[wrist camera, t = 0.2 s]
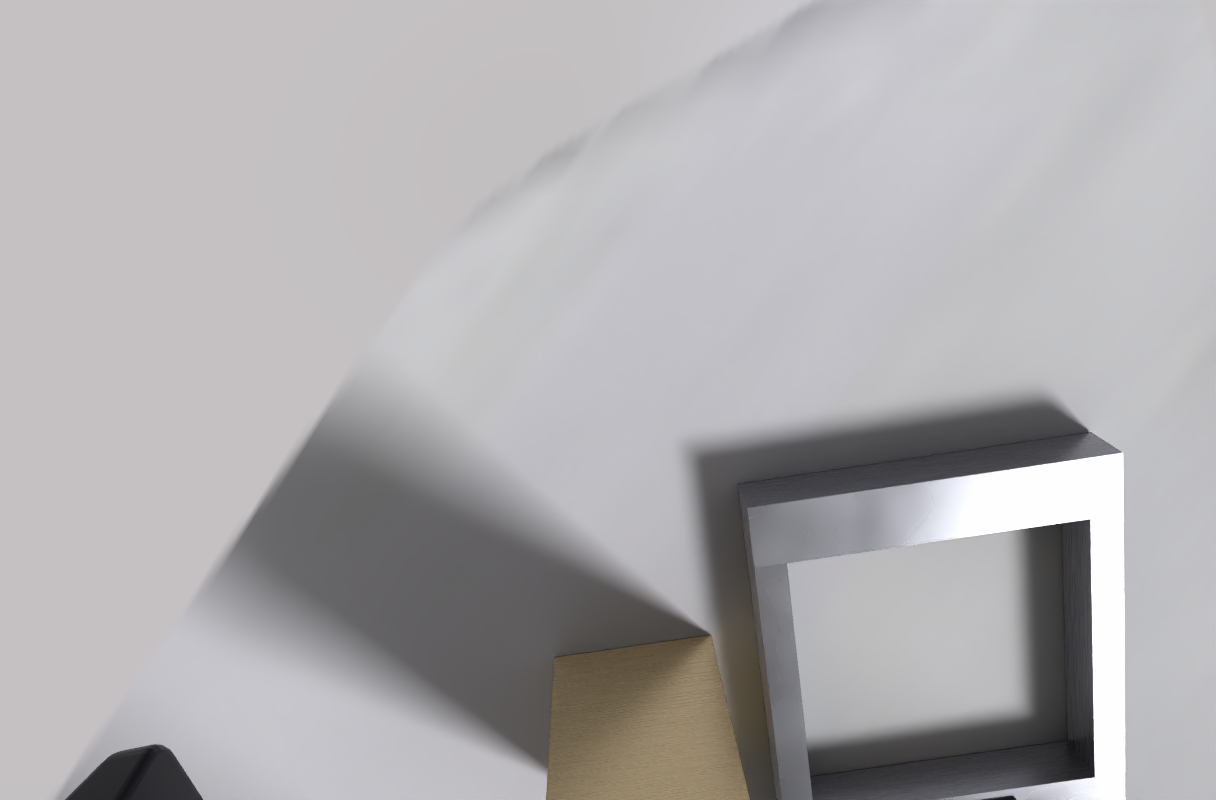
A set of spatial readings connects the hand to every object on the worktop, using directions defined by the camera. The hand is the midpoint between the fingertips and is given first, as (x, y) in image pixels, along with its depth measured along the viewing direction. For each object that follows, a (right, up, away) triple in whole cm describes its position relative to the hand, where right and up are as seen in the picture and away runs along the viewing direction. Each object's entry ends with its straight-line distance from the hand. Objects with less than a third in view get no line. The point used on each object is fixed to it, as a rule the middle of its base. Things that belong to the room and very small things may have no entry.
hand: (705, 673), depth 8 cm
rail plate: (+7, -4, +17) cm, 19 cm away
